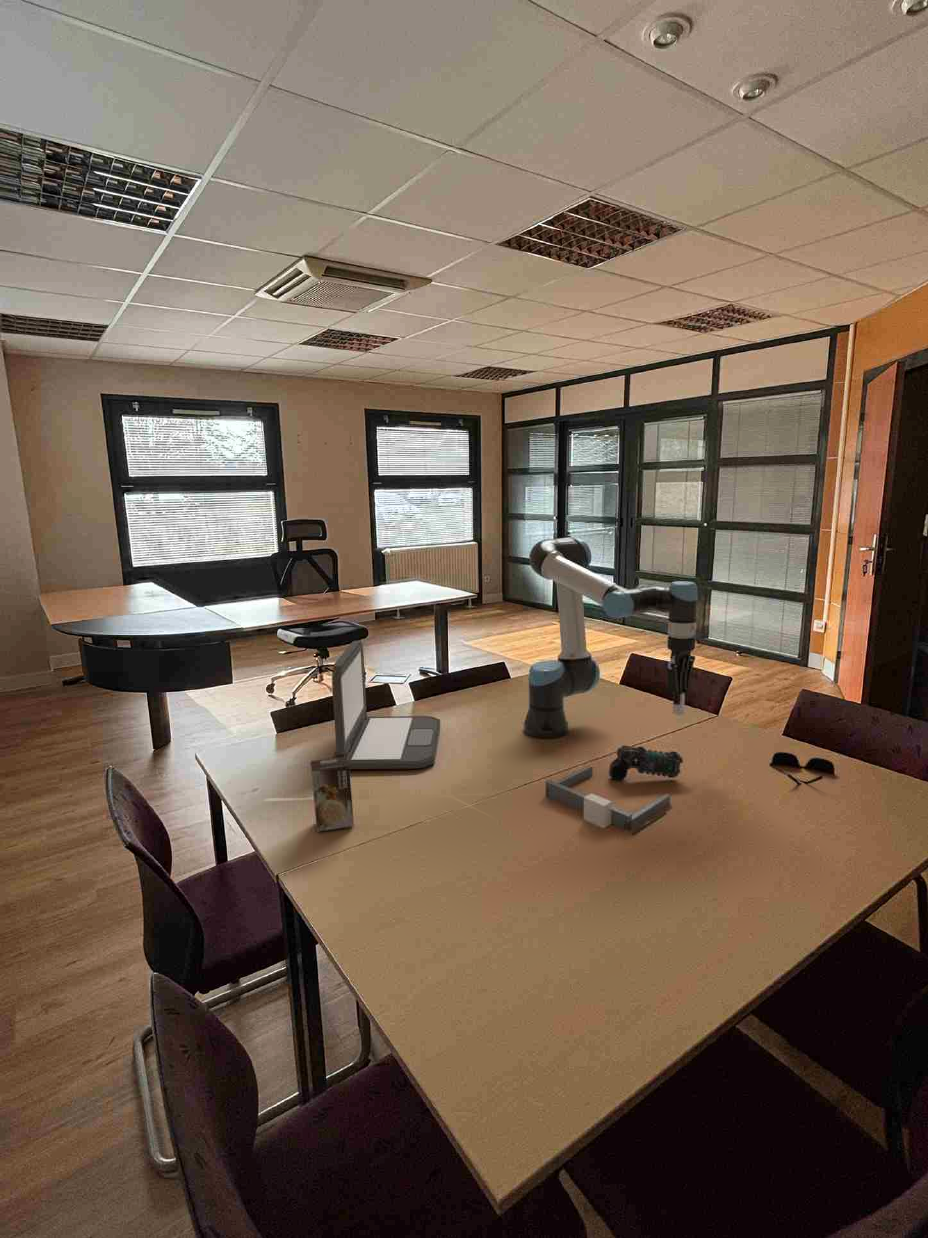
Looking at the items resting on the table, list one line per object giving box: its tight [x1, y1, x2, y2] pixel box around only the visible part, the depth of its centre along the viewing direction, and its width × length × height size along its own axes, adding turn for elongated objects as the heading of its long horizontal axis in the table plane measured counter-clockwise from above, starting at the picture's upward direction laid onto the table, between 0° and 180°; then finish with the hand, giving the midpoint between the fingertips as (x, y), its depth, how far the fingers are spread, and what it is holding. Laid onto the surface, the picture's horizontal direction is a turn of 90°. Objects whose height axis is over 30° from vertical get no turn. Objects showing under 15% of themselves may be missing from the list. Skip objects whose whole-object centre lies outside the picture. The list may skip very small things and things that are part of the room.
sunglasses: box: [769, 751, 836, 785], centre depth 174 cm, size 17×14×5 cm
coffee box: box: [310, 757, 355, 832], centre depth 155 cm, size 9×6×16 cm
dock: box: [545, 764, 671, 836], centre depth 163 cm, size 28×22×6 cm
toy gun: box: [608, 745, 684, 781], centre depth 176 cm, size 4×19×10 cm, turn 84°
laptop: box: [331, 639, 441, 770], centre depth 201 cm, size 38×31×32 cm
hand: (678, 713), depth 185 cm, fingers closed
